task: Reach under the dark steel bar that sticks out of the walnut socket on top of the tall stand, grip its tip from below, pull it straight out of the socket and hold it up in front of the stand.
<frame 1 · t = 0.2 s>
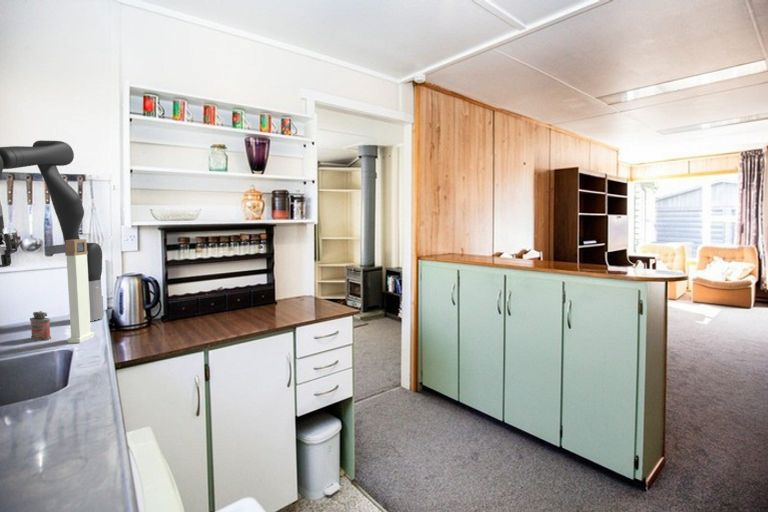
steel bar: (65, 252, 144), point 32 cm above the counter, tilted 7°, touching stand
lighter: (41, 339, 148), on the counter
stand: (81, 339, 147), on the counter
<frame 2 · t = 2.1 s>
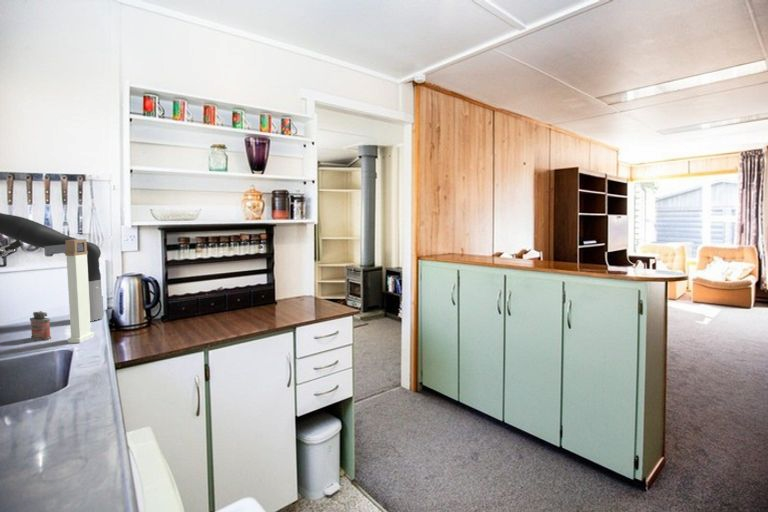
hand: (11, 242, 143), 35 cm above the counter, tool pointing upward, fingers open, 8 cm apart
nothing on the counter moved.
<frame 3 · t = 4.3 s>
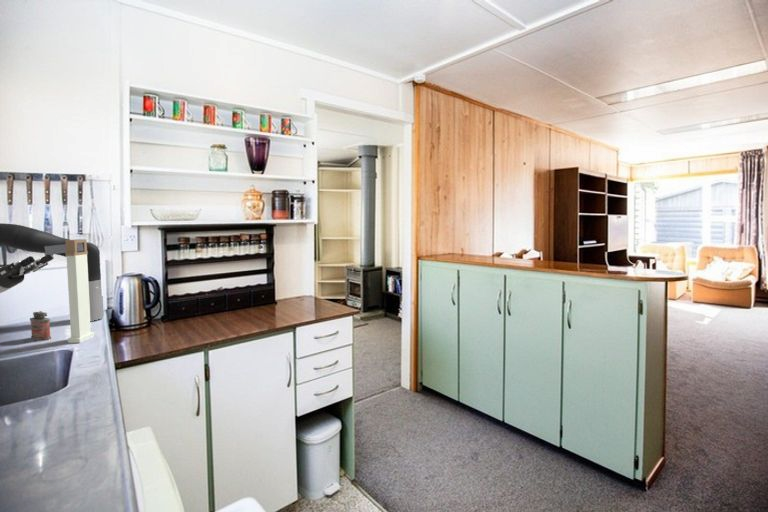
hand: (42, 257, 144), 30 cm above the counter, tool pointing upward, fingers open, 8 cm apart
nothing on the counter moved.
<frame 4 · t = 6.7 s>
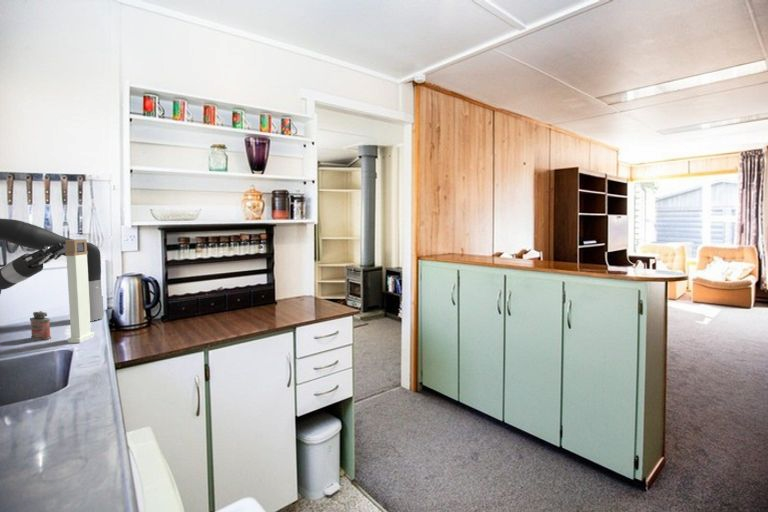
hand: (64, 245, 144), 34 cm above the counter, tool pointing upward, fingers closed on steel bar, 3 cm apart
steel bar: (65, 252, 144), point 32 cm above the counter, tilted 7°, touching gripper, stand
everything else where it was.
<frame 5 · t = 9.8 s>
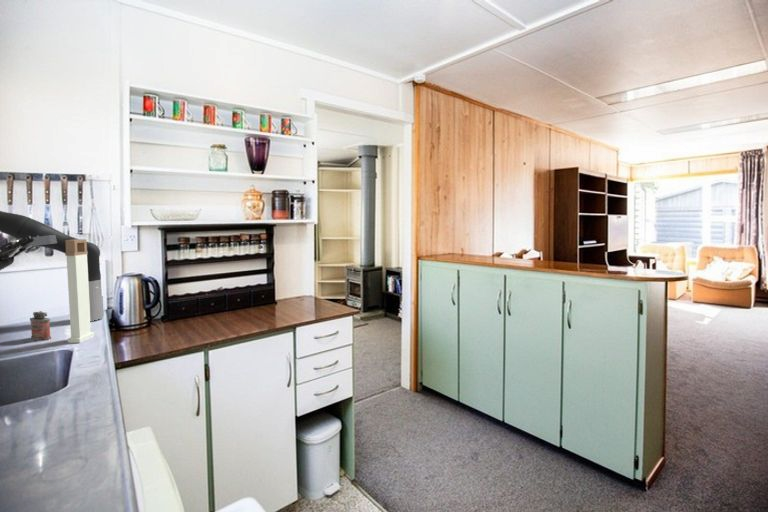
hand: (34, 237, 143), 37 cm above the counter, tool pointing upward, fingers closed on steel bar, 3 cm apart
steel bar: (38, 245, 143), point 34 cm above the counter, tilted 8°, touching gripper
everything else where it was.
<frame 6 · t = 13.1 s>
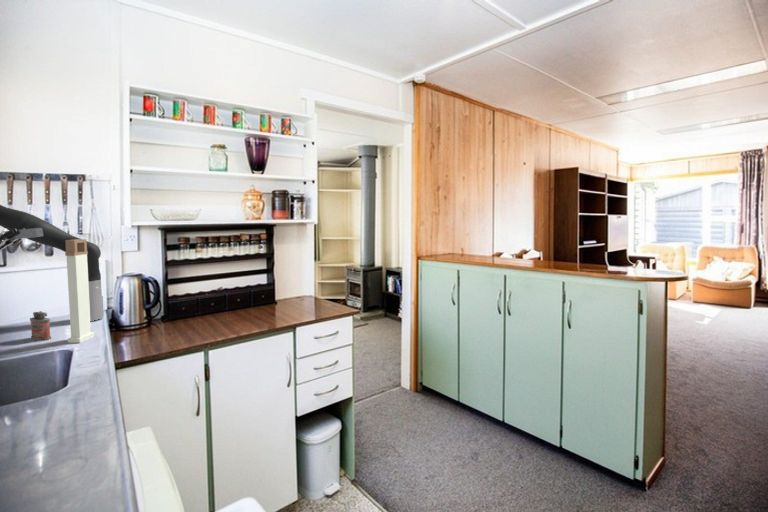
hand: (20, 230, 143), 39 cm above the counter, tool pointing upward, fingers closed on steel bar, 3 cm apart
steel bar: (24, 238, 143), point 37 cm above the counter, tilted 7°, touching gripper
everything else where it was.
at the end: the gripper is holding steel bar; steel bar touching gripper; steel bar moved 14.3 cm from its start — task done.
